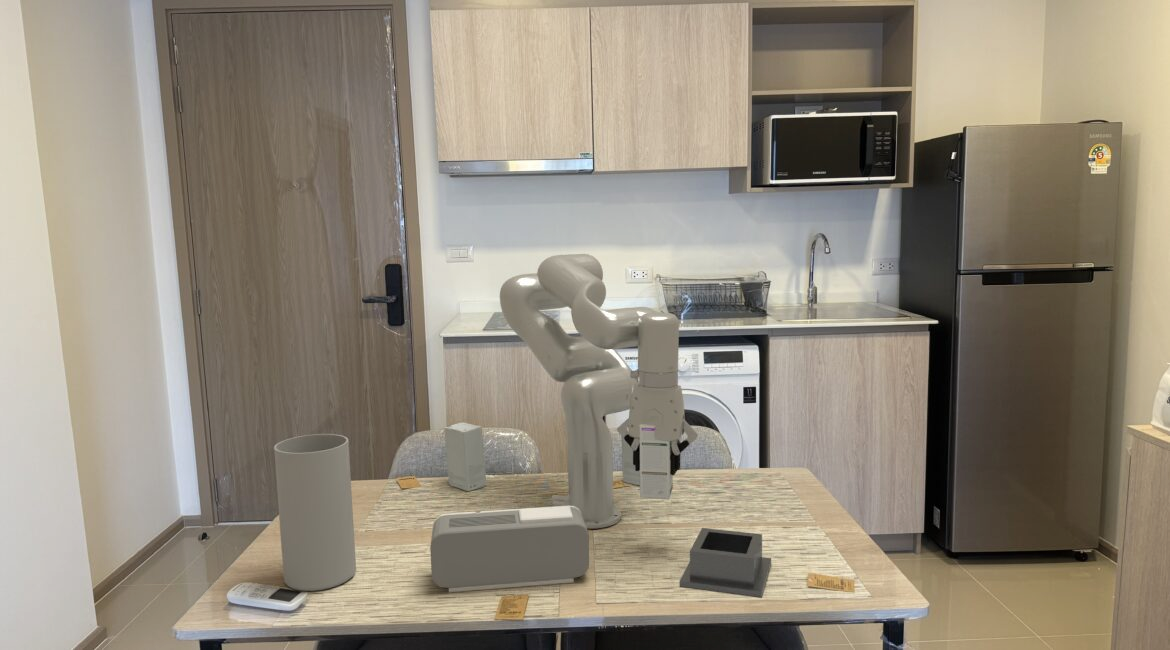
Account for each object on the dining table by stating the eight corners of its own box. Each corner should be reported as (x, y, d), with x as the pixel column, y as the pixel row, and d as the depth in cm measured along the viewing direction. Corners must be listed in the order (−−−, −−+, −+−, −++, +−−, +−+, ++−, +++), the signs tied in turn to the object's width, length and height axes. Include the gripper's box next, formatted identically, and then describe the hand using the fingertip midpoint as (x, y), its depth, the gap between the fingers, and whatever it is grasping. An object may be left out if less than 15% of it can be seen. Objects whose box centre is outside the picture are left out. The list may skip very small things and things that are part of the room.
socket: (679, 586, 140) (679, 553, 140) (695, 554, 153) (695, 524, 153) (761, 597, 136) (761, 563, 135) (771, 563, 149) (771, 532, 148)
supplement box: (664, 480, 197) (663, 429, 195) (645, 488, 192) (645, 436, 190) (639, 474, 202) (639, 424, 200) (621, 481, 196) (620, 431, 195)
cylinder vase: (286, 598, 139) (276, 457, 136) (282, 570, 150) (272, 439, 147) (361, 584, 144) (352, 447, 141) (351, 557, 155) (343, 430, 152)
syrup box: (669, 500, 152) (671, 425, 149) (638, 497, 153) (639, 423, 151) (672, 489, 157) (674, 417, 155) (642, 487, 158) (643, 415, 156)
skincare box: (487, 486, 195) (484, 426, 193) (466, 492, 191) (464, 431, 189) (466, 479, 201) (464, 420, 199) (446, 484, 197) (443, 425, 195)
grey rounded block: (582, 561, 152) (581, 500, 150) (589, 583, 143) (588, 518, 141) (435, 572, 148) (432, 510, 147) (432, 595, 139) (429, 529, 138)
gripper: (607, 379, 151) (607, 472, 154) (699, 386, 145) (697, 482, 148) (619, 371, 158) (618, 460, 161) (707, 378, 152) (705, 469, 155)
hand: (656, 470), depth 154 cm, fingers closed on syrup box, 6 cm apart
